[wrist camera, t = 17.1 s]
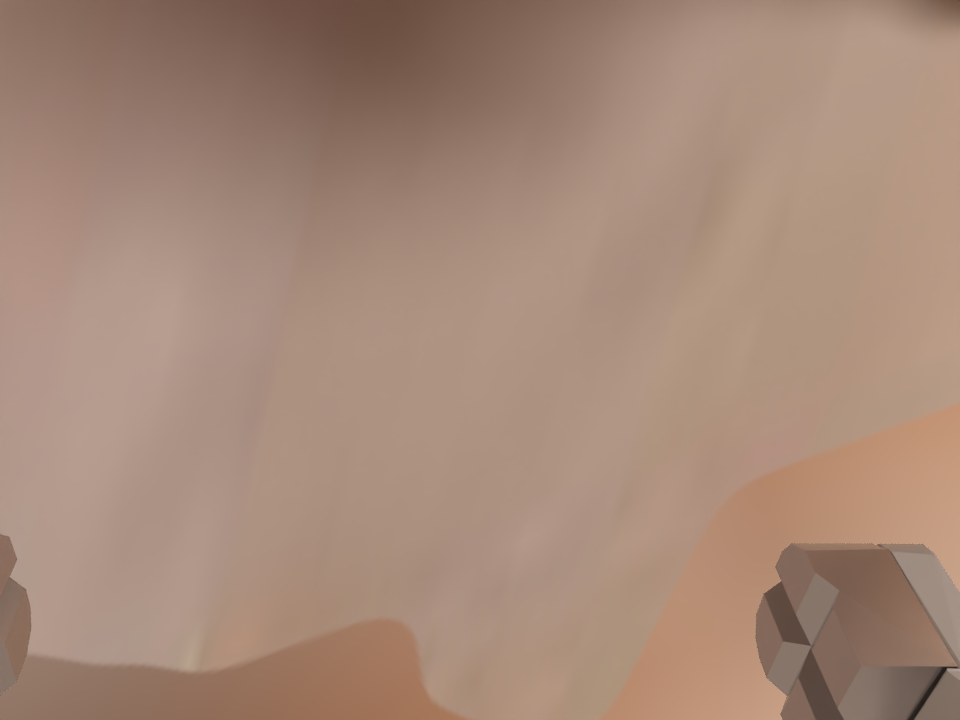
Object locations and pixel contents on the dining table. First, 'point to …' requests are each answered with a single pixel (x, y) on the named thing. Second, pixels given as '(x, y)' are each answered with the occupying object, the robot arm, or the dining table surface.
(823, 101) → the dining table surface
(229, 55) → the dining table surface
